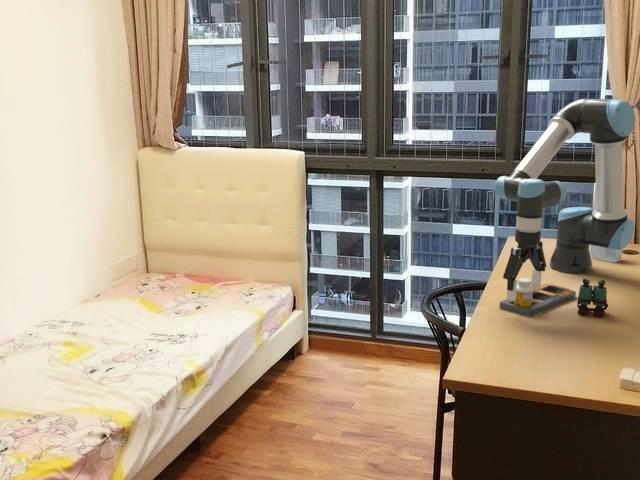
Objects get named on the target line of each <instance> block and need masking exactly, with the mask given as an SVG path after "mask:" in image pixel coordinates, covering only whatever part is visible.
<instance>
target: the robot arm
mask: <svg viewBox="0 0 640 480" xmlns="http://www.w3.org/2000/svg"><path fill="white" fill-rule="evenodd" d="M635 116H636V115H635V111H634V108H633V106H632V105H631V104H630V102H629V101H627V100H623V99H617V98H610V99H609V98H587V97H586V98H579V99H576V100H574V101H571V102H569V103H568V104H566V105H565V106H563V107H562V108H561V109H559V110H557V112H556V113H555V114H554V115H553V116H551V118H550V120H549V121H548V123H547V128H546V129H545V130H544V132H543V133H542V135H541V136H540V137H539V138H538V140H537V141H536V142H535V143H534V145H533V146H532V147H531V149H529V151H528V152H527V153H526V155H524V157H523V158H522V160H520V162H519V164H518V165H517V166H516V167H515V169H514V170H513V171H512V172H511V174H510V175H509V176H508V175H502V176H499V177H498V178H497V179H496V181H495V184H494V193H495V196H497V197H498V198H499V199H503V200H506V201H513V202H517V207H516V218H515V219H516V220H515V221H516V223H515V228H516V229H515V233H514V234H515V235H514V241H515V242H516V243H517V247H511V249H510V253H509V254H510V255H509V258H508V260H507V265H506V267H505V270H504V273H503V275H502V279H504V280H506V281H507V282H506V283H507V285H506V299H509V300H512V301H516V286H517V285H518V279H517V277H518V275H519V272H520V271H521V269H522V266H523V265H524V264H525V263H526V262H527V261H528V260H529V261H530V263H531V265H532V267H533V269H532V273H531V274H532V276H531V285H530V286H531V287H532V288H533V290H536V291H540V285H541V283H542V281H541V280H542V272H545V271H546V268H547V262H546V258H545V254H544V250H543V249H544V248H543V242H542V241H541V236H542V235H541V233H542V231H541V230H542V225H543V221H542V220H543V212H544V211H543V210H544V209H545V208H549V207H555V206H558V205H560V204H562V203H563V202H564V201H565V200H566V198H567V195H568V192H567V191H568V190H567V188H566V185H565V184H564V183H563V182H560V181H558V180H550V181H544V180H542V179H540V178H539V176H540V175H541V173H543V171H544V170H545V168H546V167H547V166H548V164H549V163H550V162H551V161H552V159H553V158H554V157H555V156H556V154H557V153H558V152H559V151H560V149H561V148H562V146H563V145H564V144H565V143H566V142H567V141H568V140H571V139H572V138H573V137H574V136H575V135H576V134H579V133H581V134H582V133H583V134H589V141H590V143H592V144H593V145H594V152H595V153H594V160H595V162H594V163H595V166H594V167H595V206H596V207H595V208H594V209H593V208H592V207H589V206H574V207H573V206H571V207H566V208H562V209H561V210H560V211H559V213H558V216H557V218H558V219H557V231H556V245H555V248H554V250H553V252H552V255H551V257H550V259H549V267H550V268H551V269H553V270H555V271H559V272H563V273H568V274H569V273H571V274H583V273H590V272H591V271H592V270H593V262H592V258H591V256H590V246H591V245H594V246H598V247H603V248H608V249H614V250H622V251H623V250H624V249H625V248H626V247H627V246H628V245H629V244H630V242H631V241H632V238H633V236H634V233H635V228H636V227H635V221H634V220H633V219H632V218H629V217H628V210H626V209H625V208H624V207H623V203H624V200H623V198H624V194H623V192H624V191H623V190H624V189H623V188H624V187H623V181H624V180H623V175H624V174H623V143H624V142H626V141H627V140H628V136H630V135H631V134H632V132H633V130H634V128H635V126H634V125H636V124H635V123H636V119H635V118H636V117H635ZM538 178H539V179H538ZM516 279H517V280H516Z"/></svg>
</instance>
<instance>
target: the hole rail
mask: <svg viewBox="0 0 640 480" xmlns="http://www.w3.org/2000/svg"><path fill="white" fill-rule="evenodd" d="M576 293H577V291H575V290H572V289H570V288H566V287H564V286H559V285H555V284H549V283H546V282H545V283H543V284H540V291H536V290H533V295H532V306H530V307H528V308H524V307H520V306H517V305H514V301H512V300H509V299H507V298H506V299H504V300H501V301H499V308H500V309H502V310H506V311H508V310H509V311H508V312H511V313H515V314H519V315H522V316H525V317H528V318H532V317H534V316H535V315H538V314H540V313H543V312H544V311H547V310H549V309H552V308H554V307H556V306H559V305H561V304H564V303H566V302H568V301H570V300H573V299H576V297H577V296H576ZM537 299H539V300H537ZM542 300H543V301H542Z"/></svg>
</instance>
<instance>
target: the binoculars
mask: <svg viewBox="0 0 640 480" xmlns="http://www.w3.org/2000/svg"><path fill="white" fill-rule="evenodd" d="M582 283H583V284H581V285H580V286H579V290H578V296H577V302H576V303H577V304H576V307H577V308H578V309H577V314H578V315H579V316H581V317H588V316H589V314H590V312H593V317H595V318H598V319H599V318H600V319H601V318H604V317H605V316H606V314H605V313H606V310H607V309H608V308H609V304H608V303H607V302H608V299H607V295H608V294H607V292H608V291H607V290H608V289H607V287H606V280H604V279H603V280H599V281H597V284H598V285H594V286H593V285H592V284H590V283H591V281H590V280H589V279H588V278H587V279H586V278H582ZM591 304H592V305H593V306H595V307H593V308H592V307H589V305H591Z"/></svg>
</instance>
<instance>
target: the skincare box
mask: <svg viewBox="0 0 640 480" xmlns="http://www.w3.org/2000/svg"><path fill="white" fill-rule="evenodd" d="M589 252H590V256H591V259H594V260H600V261H604V262H608V263H613V262H614V263H613V264H615V263H617V262H619V261H622V256H623V255H622V254H623V249H622V250H614V249H608V248H603V247H598V246H594V245H589Z"/></svg>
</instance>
